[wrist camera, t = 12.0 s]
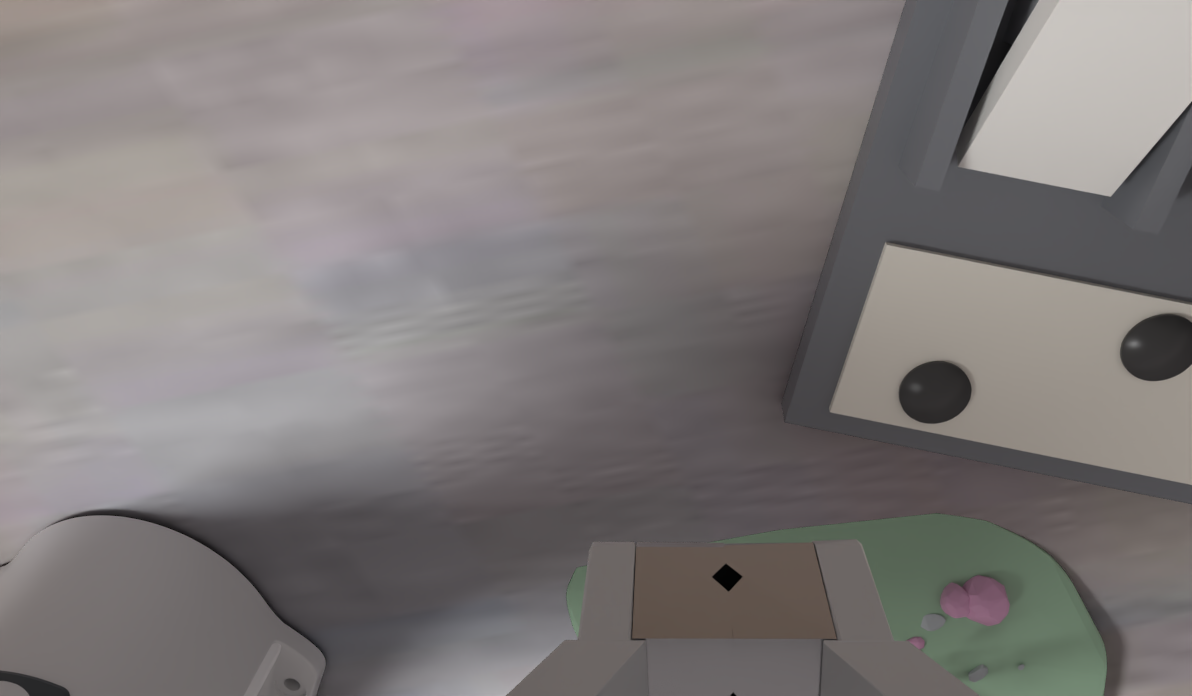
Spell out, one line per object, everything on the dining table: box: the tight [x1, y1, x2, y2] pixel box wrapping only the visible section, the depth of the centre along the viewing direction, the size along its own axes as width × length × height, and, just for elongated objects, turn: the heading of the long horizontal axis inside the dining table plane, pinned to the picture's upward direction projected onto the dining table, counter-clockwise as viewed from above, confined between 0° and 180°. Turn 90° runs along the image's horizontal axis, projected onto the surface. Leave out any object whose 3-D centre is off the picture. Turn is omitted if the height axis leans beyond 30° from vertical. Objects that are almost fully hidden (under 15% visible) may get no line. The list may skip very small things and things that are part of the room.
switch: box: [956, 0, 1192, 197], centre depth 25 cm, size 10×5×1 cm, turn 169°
